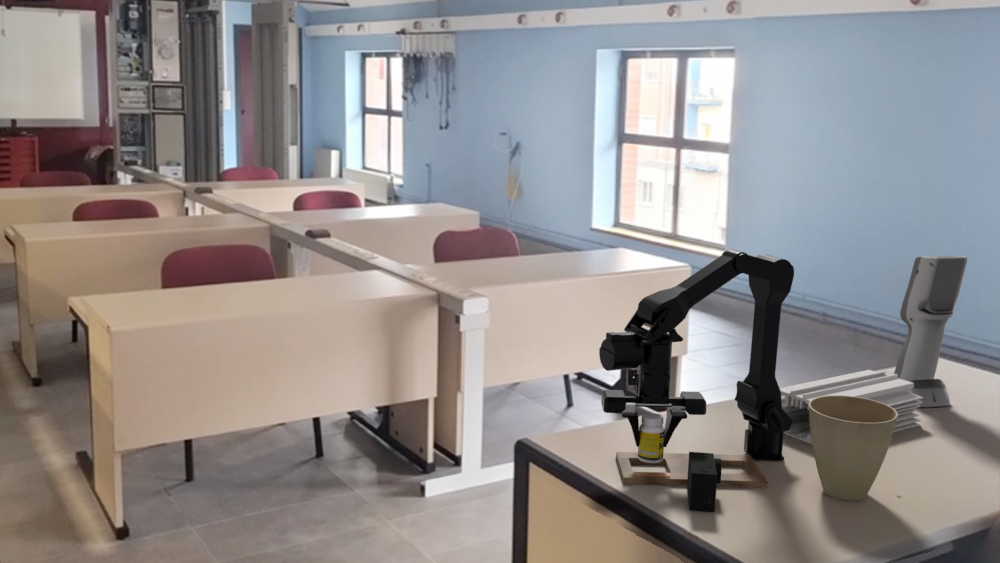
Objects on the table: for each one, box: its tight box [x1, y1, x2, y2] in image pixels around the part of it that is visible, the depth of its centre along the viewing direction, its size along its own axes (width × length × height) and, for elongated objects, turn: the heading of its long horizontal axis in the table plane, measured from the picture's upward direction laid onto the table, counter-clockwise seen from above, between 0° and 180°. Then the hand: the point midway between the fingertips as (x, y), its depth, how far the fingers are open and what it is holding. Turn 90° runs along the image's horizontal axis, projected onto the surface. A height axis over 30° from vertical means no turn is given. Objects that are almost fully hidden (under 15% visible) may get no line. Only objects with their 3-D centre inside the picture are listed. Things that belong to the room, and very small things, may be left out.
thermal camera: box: [893, 255, 968, 409], centre depth 233 cm, size 12×13×35 cm
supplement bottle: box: [637, 412, 665, 463], centre depth 187 cm, size 5×5×8 cm
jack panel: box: [615, 451, 769, 489], centre depth 188 cm, size 26×13×1 cm, turn 90°
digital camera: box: [686, 451, 722, 514], centre depth 175 cm, size 10×5×7 cm, turn 172°
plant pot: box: [808, 395, 898, 502], centre depth 179 cm, size 15×15×16 cm
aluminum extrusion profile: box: [779, 369, 923, 445], centre depth 215 cm, size 14×31×10 cm, turn 123°
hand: (651, 446), depth 187 cm, fingers closed on supplement bottle, 5 cm apart
